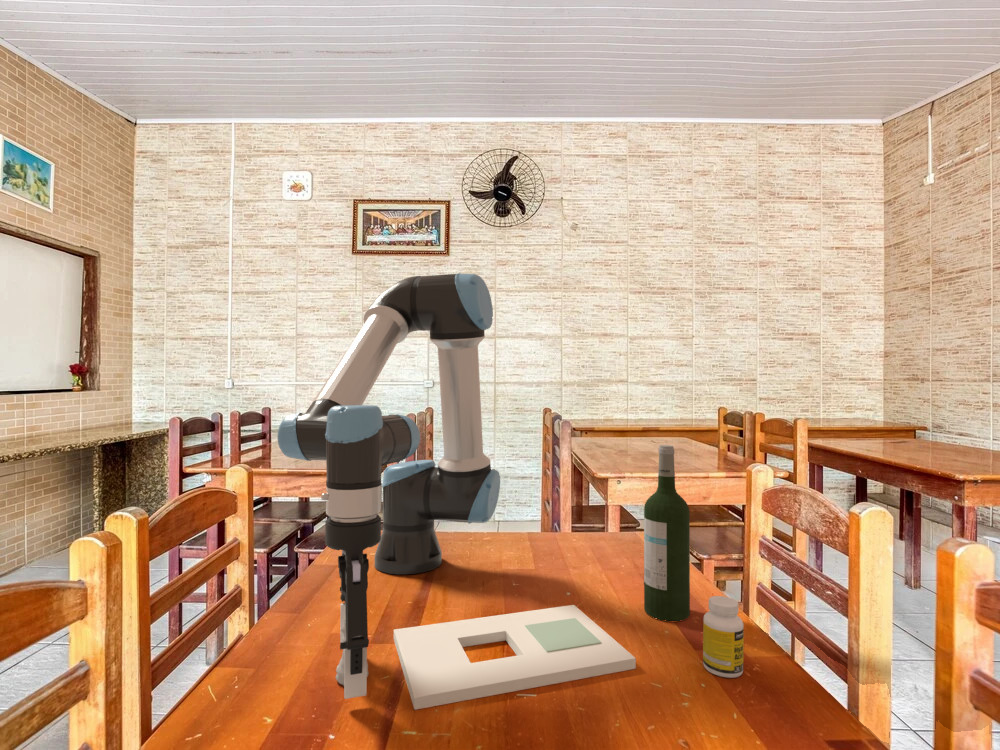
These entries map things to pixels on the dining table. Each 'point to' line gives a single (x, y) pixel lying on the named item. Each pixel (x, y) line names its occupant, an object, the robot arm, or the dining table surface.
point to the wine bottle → (666, 546)
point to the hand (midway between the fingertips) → (352, 669)
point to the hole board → (533, 637)
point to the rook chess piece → (343, 659)
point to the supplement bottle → (723, 638)
